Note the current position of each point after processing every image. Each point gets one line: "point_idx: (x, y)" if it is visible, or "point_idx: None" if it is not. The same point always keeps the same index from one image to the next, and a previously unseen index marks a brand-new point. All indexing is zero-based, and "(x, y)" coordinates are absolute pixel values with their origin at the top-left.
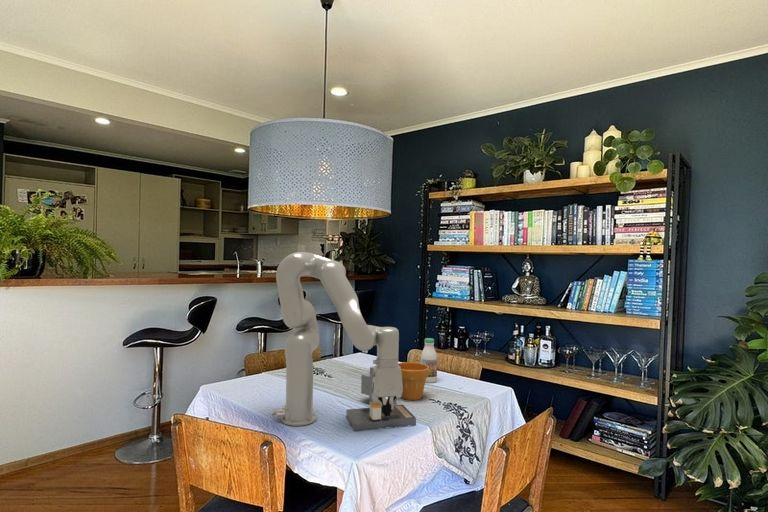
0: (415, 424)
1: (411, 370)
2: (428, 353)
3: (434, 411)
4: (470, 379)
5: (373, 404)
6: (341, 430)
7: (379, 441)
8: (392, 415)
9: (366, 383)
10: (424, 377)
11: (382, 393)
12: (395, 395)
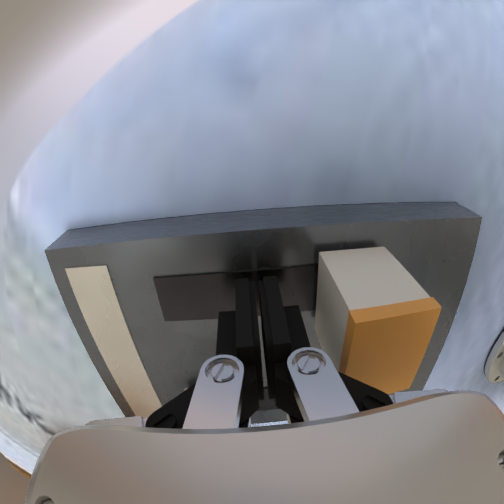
0: (67, 231)
1: None
2: None
3: (14, 359)
4: (7, 457)
5: (405, 357)
6: (491, 228)
7: (365, 17)
8: (202, 317)
9: None
10: None
11: (426, 449)
12: (150, 434)
